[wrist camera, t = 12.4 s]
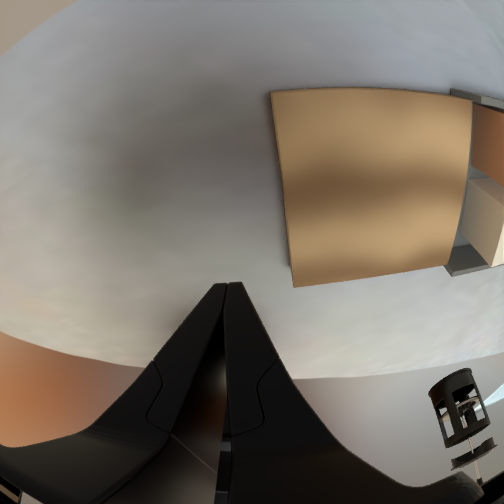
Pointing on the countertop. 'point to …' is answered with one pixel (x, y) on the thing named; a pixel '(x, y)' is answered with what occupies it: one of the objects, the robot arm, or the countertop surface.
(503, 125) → the tan cardboard box
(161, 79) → the countertop surface
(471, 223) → the cream rectangular block
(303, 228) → the oak board
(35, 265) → the countertop surface
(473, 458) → the french press
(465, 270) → the tray
